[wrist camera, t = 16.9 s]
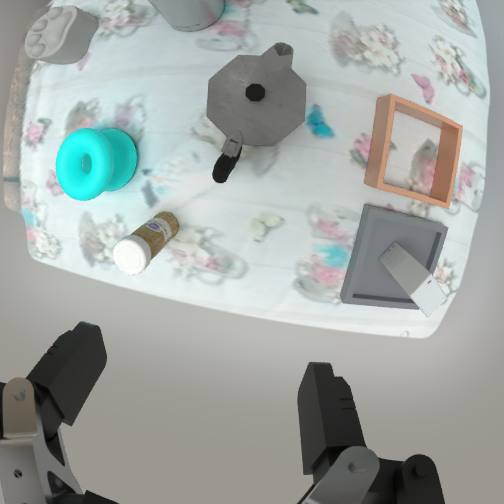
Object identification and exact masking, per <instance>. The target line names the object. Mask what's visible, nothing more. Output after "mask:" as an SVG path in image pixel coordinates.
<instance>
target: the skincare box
mask: <svg viewBox="0 0 504 504" xmlns="http://www.w3.org/2000/svg"><path fill="white" fill-rule="evenodd" d="M379 260H380V262H381V263H382V264H383V265H384V266H385V267H386V269H387V270H388V271H389V272H390V273H391V275H392V276H393V277H394V278H395V279H396V281H397V282H398V283H399V284H400V285H401V287H402V288H403V289H404V290H405V292H406V293H407V294H408V295H409V296H410V298H411V299H412V300H413V301H414V302H415V304H416V305H417V306H418V307H419V308H420V309H421V310H422V312H423V313H424V314H425V315H426V316H427V317H428V316H429V315H431V314H432V313H433V312H434V311H435V310H436V309H437V308H438V307H439V306H440V305H441V304H442V303H443V302H444V301H445V300H446V299H447V297H446V295H445V293H444V292H443V290H442V289H441V287H440V285H439V284H438V282H437V281H436V280H435V278H434V277H433V275H432V274H431V273H430V272H429V271H428V270H427V269H426V268H425V267H424V266H423V265H422V264H421V263H419V262H418V261H417V260H416V259H415V258H414V257H413V256H412V255H410V254H409V253H408V252H407V251H406V250H405V249H404V248H403V247H401V246H400V245H399V244H398V243H397V242H394V243H393V244H392V245H391V246H390V247H389V248H388V249H387V250H386V252H385V253H384V254H383V255H382V256H381V257H380V258H379Z"/></svg>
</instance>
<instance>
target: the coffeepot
mask: <svg viewBox="0 0 504 504" xmlns="http://www.w3.org/2000/svg"><path fill="white" fill-rule="evenodd" d="M292 57H293V48H292V47H291V46H290V45H288V44H285V43H276V44H275V45H274V46H272V47H271V48H269V49H268V50H267V51H266V52H265V53H263V54H262V55H261V56H254V55H238V56H237V57H236V58H234V59H233V60H232V61H231V62H229V63H228V64H227V65H226V66H224V67H223V68H222V69H221V70H220V71H218V72H217V73H216V74H215V75H214V76H213V77H212V78H210V79H209V84H208V99H207V117H208V118H209V119H210V120H211V121H212V122H213V124H214V125H215V126H216V127H217V128H218V129H219V130H220V131H221V132H222V133H223V134H224V135H225V136H226V137H227V139H226V141H225V143H224V145H223V148H222V150H221V151H222V152H224V153H223V154H222V155H221V156H220V157H219V158H218V160H217V162H216V164H215V166H214V169H213V173H212V176H213V179H214V181H215V182H217V183H224V182H226V180H227V178H228V176H229V174H230V173H231V171H232V170H233V169H234V167H235V165H236V162H237V161H238V160H239V157H240V154H241V150H242V144H245V145H258V146H275V145H276V144H277V143H278V142H280V141H281V140H282V139H283V138H284V137H286V136H287V135H288V134H289V133H290V132H292V131H293V130H294V129H295V128H297V127H298V126H299V125H300V124H302V123H303V122H304V121H305V102H306V83H305V82H304V81H303V80H302V79H301V78H300V77H299V76H298V75H297V74H296V73H295V72H294V71H293V70H292V69H291V65H292Z"/></svg>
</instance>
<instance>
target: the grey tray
mask: <svg viewBox="0 0 504 504" xmlns="http://www.w3.org/2000/svg"><path fill="white" fill-rule="evenodd" d="M447 231H448V227H447V226H445V225H443V224H441V223H438V222H434V221H431V220H427V219H423V218H419V217H415V216H412V215H408V214H404V213H400V212H395V211H391V210H387V209H383V208H378V207H374V206H369V205H365V204H364V208H363V212H362V217H361V221H360V225H359V229H358V233H357V237H356V241H355V245H354V248H353V252H352V256H351V259H350V263H349V266H348V270H347V273H346V277H345V280H344V283H343V287H342V290H341V293H340V297H341V299H342V302H343V303H346V304H356V305H367V306H378V307H390V308H403V309H416V310H419V307H418V306H417V305H416V304H415V302H414V301H413V300H412V299H411V298H410V296H409V295H408V294H407V293H406V292H405V290H404V289H403V288H402V287H401V285H400V284H399V283H398V282H397V281H396V279H395V278H394V277H393V276H392V275H391V273H390V272H389V271H388V270H387V269H386V267H385V266H384V265H383V264H382V263H381V262H380V260H379V258H380V257H381V256H382V255H383V254H384V253H385V252H386V250H387V249H388V248H389V247H390V246H391V245H392V244H393V243H394V242H397V243H398V244H399V245H400V246H401V247H403V248H404V249H405V250H406V251H407V252H408V253H409V254H410V255H412V256H413V257H414V258H415V259H416V260H417V261H418V262H419V263H421V264H422V265H423V266H424V267H425V268H426V269H427V270H428V271H429V272H430V273H431V274H432V275H433V273H434V271H435V268H436V265H437V262H438V259H439V256H440V253H441V250H442V247H443V244H444V241H445V238H446V234H447Z"/></svg>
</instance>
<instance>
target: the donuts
mask: <svg viewBox="0 0 504 504" xmlns="http://www.w3.org/2000/svg"><path fill="white" fill-rule="evenodd" d="M82 160H83V167H82ZM136 163H137V153H136V148H135V145H134V143H133V141H132V140H131V138H130V137H129V136H128V135H127V134H126V133H124V132H123V131H120V130H117V129H106V130H103V131H101V132H99V131H97V130H95V129H91V128H83V129H79V130H77V131H75V132H73V133H71V134H70V135H69V136H68V137H67V138H66V139H65V140H64V142H63V143H62V145H61V147H60V149H59V151H58V154H57V159H56V174H57V178H58V181H59V184H60V186H61V188H62V189H63V190H64V192H65V193H66V194H67V195H68V196H70V197H72V198H73V199H76V200H80V201H87V200H91V199H94V198H96V197H97V196H99V195H100V194H101V193H102V192H103V191H114V190H117V189H119V188H121V187H123V186H124V185H125V184H126V183H127V182H128V181H129V180H130V179H131V177H132V175H133V173H134V171H135V168H136ZM83 169H84V170H83Z"/></svg>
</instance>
